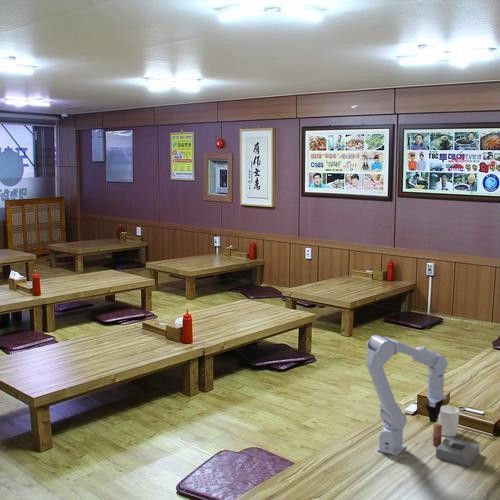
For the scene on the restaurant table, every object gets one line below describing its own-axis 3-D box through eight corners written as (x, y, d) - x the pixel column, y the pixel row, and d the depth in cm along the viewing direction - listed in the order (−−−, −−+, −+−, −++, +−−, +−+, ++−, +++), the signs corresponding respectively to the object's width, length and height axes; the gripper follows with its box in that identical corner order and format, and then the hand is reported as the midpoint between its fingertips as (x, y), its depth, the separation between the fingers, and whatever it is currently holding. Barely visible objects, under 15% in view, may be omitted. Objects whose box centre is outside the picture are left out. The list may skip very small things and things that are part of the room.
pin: (439, 447, 229) (440, 427, 228) (431, 445, 231) (432, 425, 230) (442, 444, 232) (442, 424, 231) (434, 442, 234) (435, 423, 233)
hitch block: (469, 466, 215) (469, 457, 214) (436, 457, 222) (436, 448, 221) (478, 453, 224) (479, 444, 224) (446, 445, 231) (446, 436, 231)
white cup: (461, 432, 242) (462, 409, 241) (453, 439, 236) (453, 415, 235) (443, 427, 248) (443, 404, 246) (434, 433, 242) (434, 409, 241)
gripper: (444, 392, 224) (442, 427, 225) (449, 379, 237) (447, 413, 238) (424, 389, 227) (423, 423, 228) (430, 377, 240) (429, 410, 241)
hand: (434, 418), depth 234 cm, fingers open, 7 cm apart
